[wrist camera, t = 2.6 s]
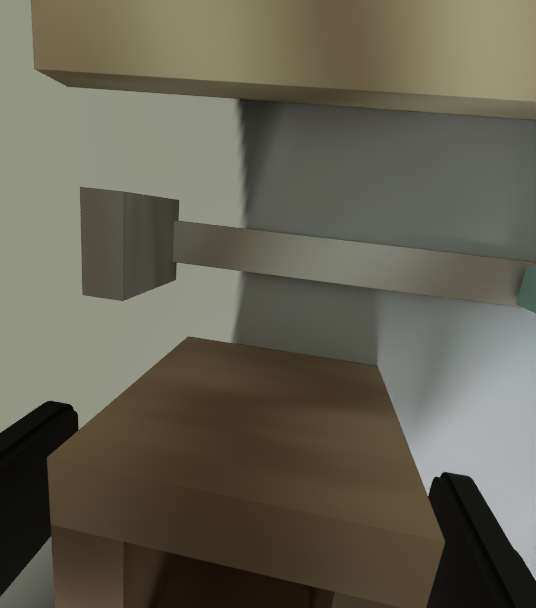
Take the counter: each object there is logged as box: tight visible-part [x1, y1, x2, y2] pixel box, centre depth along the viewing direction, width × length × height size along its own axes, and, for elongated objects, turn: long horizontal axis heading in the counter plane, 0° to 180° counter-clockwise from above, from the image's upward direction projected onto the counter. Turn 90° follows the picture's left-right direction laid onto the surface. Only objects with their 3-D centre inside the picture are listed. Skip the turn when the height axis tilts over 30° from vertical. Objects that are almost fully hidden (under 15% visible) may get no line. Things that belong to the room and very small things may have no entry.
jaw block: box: [47, 337, 445, 608], centre depth 9 cm, size 6×6×6 cm
